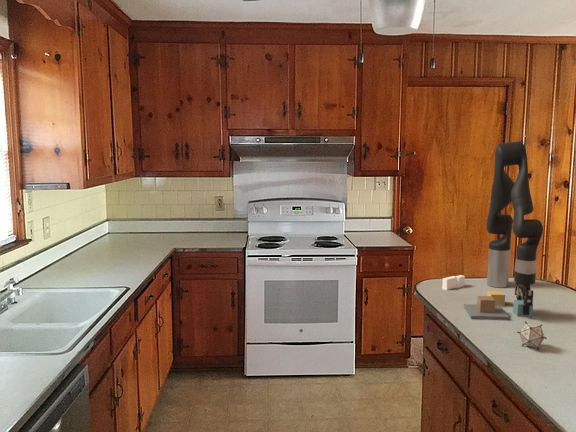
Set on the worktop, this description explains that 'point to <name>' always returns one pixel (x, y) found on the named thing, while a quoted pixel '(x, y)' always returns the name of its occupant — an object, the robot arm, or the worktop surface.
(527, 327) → the game die
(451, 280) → the notched block
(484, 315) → the baseplate
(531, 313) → the teal block
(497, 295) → the ochre block
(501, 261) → the robot arm
